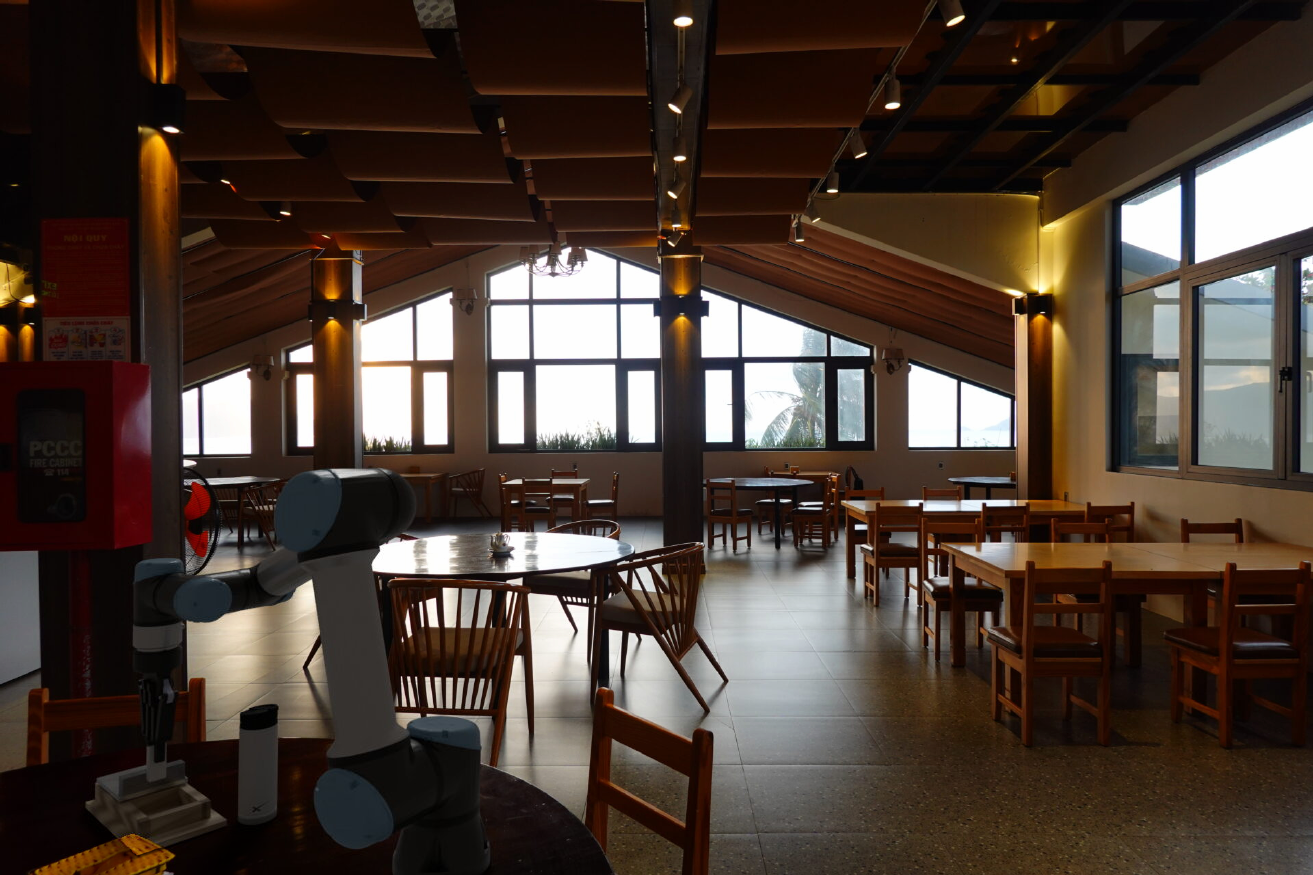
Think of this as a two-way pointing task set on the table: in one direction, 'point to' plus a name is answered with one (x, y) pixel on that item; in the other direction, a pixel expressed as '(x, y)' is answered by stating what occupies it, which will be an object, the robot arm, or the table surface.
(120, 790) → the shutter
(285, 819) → the table surface
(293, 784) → the table surface
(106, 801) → the holder
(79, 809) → the table surface
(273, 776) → the travel mug
